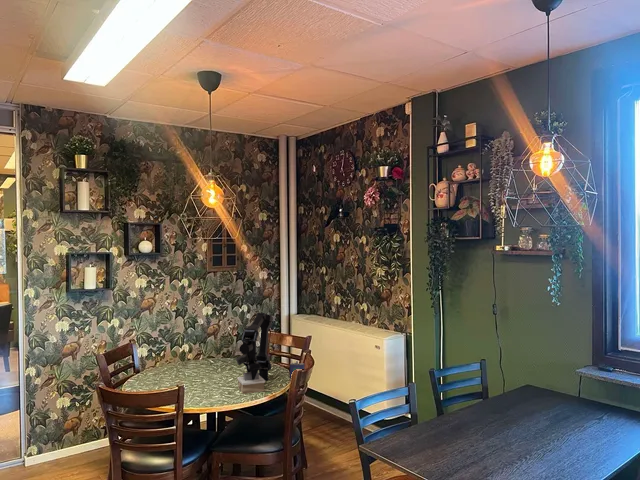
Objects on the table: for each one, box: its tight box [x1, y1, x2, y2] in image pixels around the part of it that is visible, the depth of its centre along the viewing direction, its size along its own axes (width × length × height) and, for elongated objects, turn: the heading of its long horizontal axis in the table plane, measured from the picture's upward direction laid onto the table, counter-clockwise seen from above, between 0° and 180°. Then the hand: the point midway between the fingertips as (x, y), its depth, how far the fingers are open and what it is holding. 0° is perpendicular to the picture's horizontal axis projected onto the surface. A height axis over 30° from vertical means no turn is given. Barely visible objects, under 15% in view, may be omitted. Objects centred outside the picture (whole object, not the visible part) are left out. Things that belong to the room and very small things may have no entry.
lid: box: [237, 371, 266, 385], centre depth 271 cm, size 13×13×6 cm
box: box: [237, 379, 265, 395], centre depth 271 cm, size 12×12×5 cm
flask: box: [289, 360, 305, 379], centre depth 294 cm, size 9×3×11 cm, turn 88°
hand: (251, 377), depth 271 cm, fingers open, 9 cm apart
